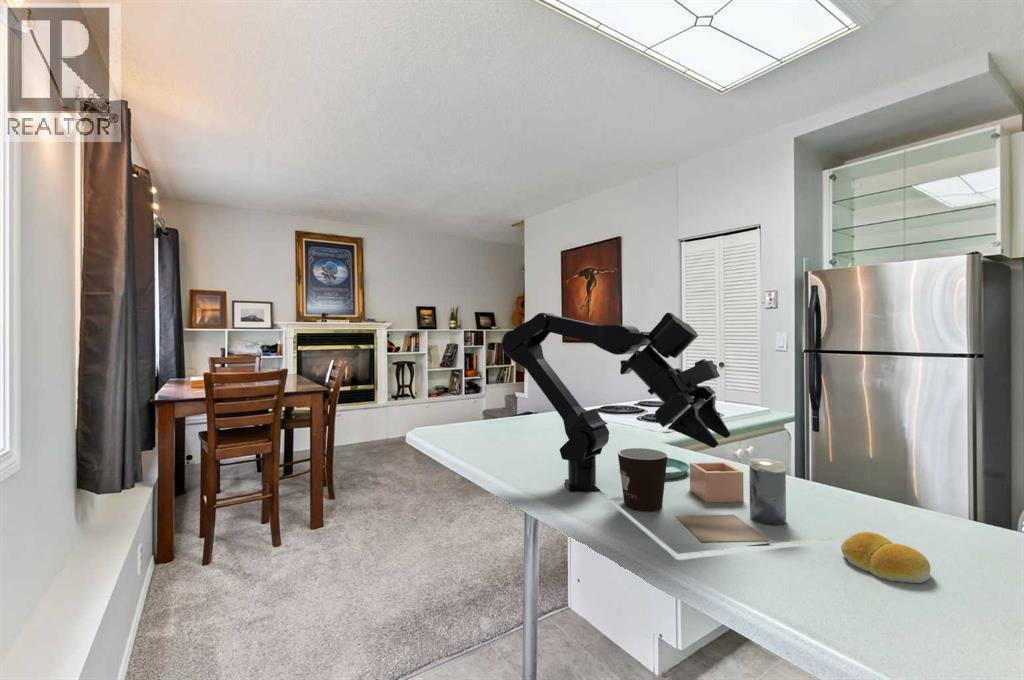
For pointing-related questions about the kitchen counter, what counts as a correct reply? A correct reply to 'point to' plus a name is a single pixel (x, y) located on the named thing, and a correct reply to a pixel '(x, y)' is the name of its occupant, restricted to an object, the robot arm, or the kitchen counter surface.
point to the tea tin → (767, 491)
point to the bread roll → (886, 558)
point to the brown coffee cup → (642, 478)
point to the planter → (716, 482)
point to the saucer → (678, 465)
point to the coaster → (721, 529)
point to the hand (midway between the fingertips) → (722, 441)
